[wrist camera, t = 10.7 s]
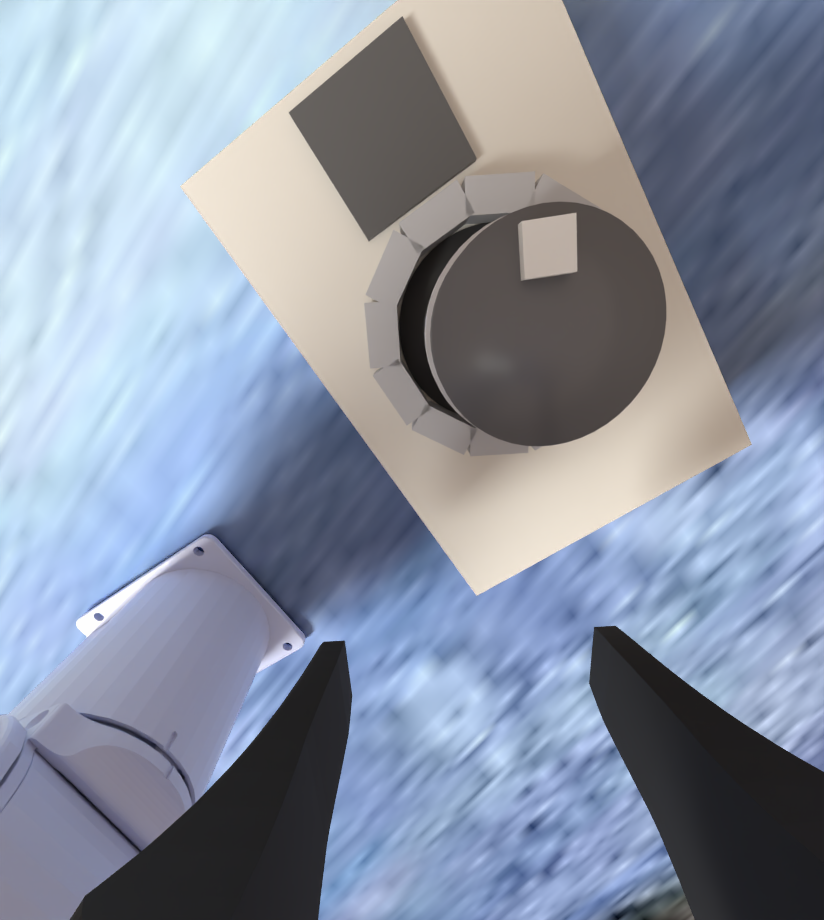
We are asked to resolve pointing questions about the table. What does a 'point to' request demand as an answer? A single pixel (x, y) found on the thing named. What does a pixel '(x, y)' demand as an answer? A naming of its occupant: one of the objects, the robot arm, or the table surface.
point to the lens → (546, 323)
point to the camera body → (432, 246)
